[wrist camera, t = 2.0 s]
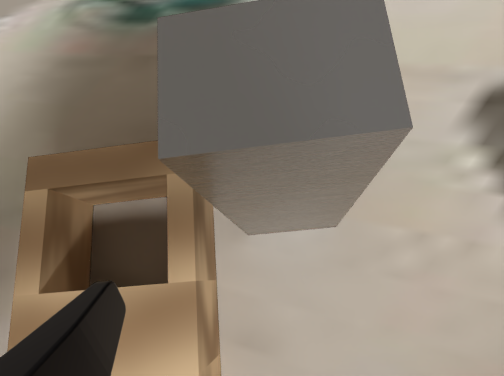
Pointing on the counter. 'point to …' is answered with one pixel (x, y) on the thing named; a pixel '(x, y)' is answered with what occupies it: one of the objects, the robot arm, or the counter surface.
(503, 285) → the counter surface
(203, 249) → the board with square holes
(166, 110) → the grey square pillar
